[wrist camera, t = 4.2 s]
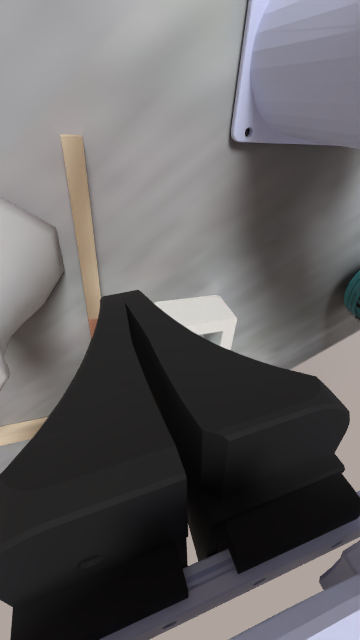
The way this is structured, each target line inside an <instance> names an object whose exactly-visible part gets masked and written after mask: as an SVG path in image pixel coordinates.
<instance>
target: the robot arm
mask: <svg viewBox="0 0 360 640" xmlns="http://www.w3.org/2000/svg"><path fill="white" fill-rule="evenodd" d="M247 128H249V129H250V132H249V135H248V136H247V137H246V136H245V130H246V129H247ZM231 137H232V139H233V140H234V141H237V142H252V143H279V144H306V145H333V146H344V147H349V148H354V149H360V0H249V3H248V10H247V17H246V25H245V32H244V39H243V47H242V54H241V61H240V68H239V76H238V83H237V90H236V98H235V105H234V112H233V120H232V127H231ZM349 416H350V415H349V411H348V410H347V408H346V407H345V406H344V405H343V404H342V403H341V401H340V400H339V399H338V398H337V397H336V396H335V395H334V394H333V393H332V392H331V391H330V390H329V389H328V388H327V387H326V386H325V385H324V384H323V383H322V382H321V381H320V380H319V379H318V378H317V377H315V376H311V375H308V374H303V373H300V372H295V371H291V370H287V369H283V368H279V367H276V366H272V365H269V364H266V363H263V362H260V361H257V360H254V359H251V358H248V357H246V356H243V355H240V354H238V353H235V352H233V351H231V350H228V349H226V348H223V347H221V346H219V345H217V344H215V343H213V342H211V341H209V340H207V339H205V338H203V337H201V336H199V335H197V334H196V333H194V332H192V331H191V330H189V329H188V328H186V327H185V326H183V325H182V324H180V323H179V322H177V321H176V320H174V319H173V318H172V317H170V316H169V315H168V314H166V313H165V312H164V311H163V310H161V309H160V308H159V307H158V306H156V305H155V304H154V303H153V302H152V301H151V300H149V299H148V298H147V297H146V296H145V295H144V294H143V293H142V292H141V291H139V290H135V291H130V292H124V293H119V294H114V295H109V296H104V297H102V298H101V299H100V310H99V315H98V320H97V323H96V327H95V330H94V334H93V337H92V339H91V342H90V345H89V347H88V350H87V352H86V355H85V357H84V359H83V361H82V363H81V365H80V367H79V369H78V371H77V373H76V375H75V377H74V379H73V380H72V382H71V384H70V385H69V387H68V389H67V390H66V392H65V394H64V395H63V397H62V398H61V400H60V401H59V403H58V404H57V406H56V407H55V409H54V410H53V411H52V413H51V414H50V415H49V417H48V418H47V419H46V421H45V422H44V423H43V425H42V426H41V428H40V429H39V430H38V432H37V433H36V434H35V435H34V437H33V438H32V439H31V440H30V441H29V443H28V444H27V445H26V446H25V447H24V448H23V449H22V451H21V452H20V453H19V454H18V455H17V456H16V457H15V459H14V460H13V461H12V462H11V463H10V464H9V466H8V467H7V468H6V469H5V470H4V471H3V472H2V473H1V474H0V600H1V601H3V602H5V603H7V604H8V605H10V606H12V607H13V615H12V628H11V640H149V639H151V638H153V637H155V636H157V635H159V634H161V633H163V632H166V631H168V630H170V629H172V628H174V627H176V626H178V625H180V624H182V623H184V622H186V621H188V620H190V619H192V618H194V617H196V616H198V615H200V614H202V613H205V612H207V611H209V610H211V609H213V608H215V607H217V606H219V605H221V604H223V603H225V602H227V601H229V600H231V599H233V598H235V597H237V596H239V595H242V594H244V593H246V592H248V591H250V590H252V589H254V588H256V587H258V586H260V585H262V584H264V583H266V582H268V581H270V580H272V579H274V578H276V577H278V576H281V575H282V574H284V573H287V572H289V571H291V570H293V569H295V568H297V567H299V566H301V565H303V564H305V563H307V562H309V561H311V560H313V559H315V558H317V557H319V556H321V555H324V554H326V553H328V552H330V551H332V550H334V549H336V548H338V547H340V546H342V545H344V544H346V543H348V542H350V541H352V540H354V539H356V538H358V537H360V491H358V492H355V490H354V489H353V488H352V486H351V485H350V484H349V482H347V480H346V479H345V477H344V476H343V475H342V473H343V472H344V470H345V468H344V465H343V464H342V463H341V461H340V460H339V459H338V457H337V456H336V455H335V454H334V453H335V451H336V449H337V447H338V445H339V444H340V442H341V440H342V438H343V436H344V435H345V433H346V431H347V428H348V425H349V421H350V417H349ZM188 525H189V528H190V532H191V535H192V539H193V543H194V546H195V550H196V554H197V558H198V562H197V563H194V564H192V565H190V566H188V565H187V546H186V545H187V544H186V537H188ZM319 582H320V584H321V586H322V587H323V590H324V591H322V592H320V593H318V594H316V595H314V596H312V597H310V598H308V599H306V600H304V601H302V602H300V603H298V604H296V605H294V606H292V607H290V608H288V609H286V610H284V611H282V612H280V613H278V614H276V615H274V616H272V617H271V618H269V619H267V620H265V621H263V622H261V623H259V624H257V625H255V626H253V627H251V628H249V629H248V630H246V631H244V632H242V633H240V634H238V635H236V636H234V637H232V638H231V639H229V640H360V541H358V542H357V543H355V544H353V545H352V546H350V547H349V548H347V549H345V550H344V551H343V553H342V555H341V558H340V559H339V560H338V561H337V562H336V563H335V564H334V565H333V566H332V567H331V568H330V569H329V570H328V571H326V572H325V573H324V574H323V575H322V576H320V580H319Z"/></svg>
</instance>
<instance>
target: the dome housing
mask: <svg viewBox="0 0 360 640" xmlns="http://www.w3.org/2000/svg"><path fill="white" fill-rule="evenodd" d="M153 303H154V304H155V305H156V306H158V307H159V308H160V309H161V310H163V311H164V312H165V313H166V314H168V315H169V316H170V317H172V318H173V319H174V320H176V321H177V322H179V323H180V324H182V325H183V326H185V327H186V328H188V329H189V330H191V331H192V332H194V333H196V334H197V335H201V336H202V337H203V338H205V339H207V340H209V341H211V342H213V343H215V344H217V345H219V346H221V347H223V348H226V349H228V350H231V345H232V340H233V336H234V331H235V326H236V322H237V318H236V316H235V315H234V314H233V313H232V311H231V310H230V309H229V308H228V306H227V305H226V304H225V302H224V301H223V300H222V299H221V297H220V296H219V295H210V296H201V297H193V298H185V299H176V300H168V301H160V302H153Z"/></svg>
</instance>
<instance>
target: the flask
mask: <svg viewBox="0 0 360 640" xmlns="http://www.w3.org/2000/svg"><path fill="white" fill-rule="evenodd" d="M63 272H64V266H63V262H62V257H61V252H60V247H59V243H58V238H57V233H56V228H55V227H54V226H52V225H50V224H48V223H47V222H45V221H43V220H41V219H39V218H38V217H36V216H34V215H32V214H30V213H29V212H27V211H25V210H23V209H21V208H20V207H18V206H16V205H14V204H12V203H11V202H9V201H7V200H5V199H0V390H1V389H2V387H3V386H4V384H5V383H6V381H7V379H8V378H9V374H10V372H9V368H8V365H7V363H6V361H5V358H4V356H5V352H6V348H7V344H8V341H9V339H10V337H11V336H12V335H13V334H14V333H15V332H16V330H17V329H18V328H19V327H20V326H21V325H22V324H23V323H24V322H25V321H26V320H27V319H28V318H29V317H30V316H32V315H33V314H34V313H35V312H36V311H37V310H38V309H39V308H40V307H41V306H42V305H43V304H44V303H45V301H46V300H47V298H48V297H49V295H50V293H51V292H52V290H53V288H54V287H55V285H56V284H57V282H58V280H59V279H60V277H61V275H62V274H63Z"/></svg>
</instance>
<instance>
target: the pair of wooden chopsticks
mask: <svg viewBox="0 0 360 640" xmlns="http://www.w3.org/2000/svg"><path fill="white" fill-rule="evenodd" d="M61 141H62V148H63V154H64V161H65V167H66V174H67V181H68V187H69V194H70V200H71V207H72V214H73V220H74V227H75V233H76V240H77V247H78V253H79V260H80V266H81V273H82V280H83V286H84V293H85V299H86V306H87V313H88V319H89V326H90V332H91V339H92V337H93V334H94V330H95V327H96V323H97V320H98V315H99V310H100V299H101V295H100V286H99V278H98V269H97V260H96V252H95V243H94V234H93V226H92V217H91V208H90V199H89V191H88V182H87V173H86V165H85V156H84V147H83V139H82V136H81V135H67V134H61ZM47 418H48V417H44V418H39V419H35V420H30V421H25V422H20V423H16V424H11V425H6V426H1V427H0V446H1V445H6V444H10V443H15V442H19V441H24V440H28V439H32V438H33V437H34V435H35V434H36V433H37V432H38V430H39V429H40V428H41V426H42V425H43V423H44V422H45V421H46V419H47Z"/></svg>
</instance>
